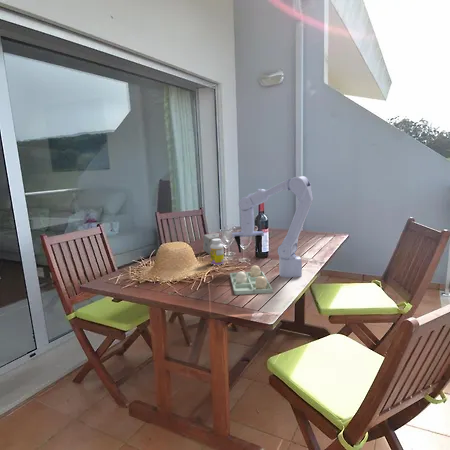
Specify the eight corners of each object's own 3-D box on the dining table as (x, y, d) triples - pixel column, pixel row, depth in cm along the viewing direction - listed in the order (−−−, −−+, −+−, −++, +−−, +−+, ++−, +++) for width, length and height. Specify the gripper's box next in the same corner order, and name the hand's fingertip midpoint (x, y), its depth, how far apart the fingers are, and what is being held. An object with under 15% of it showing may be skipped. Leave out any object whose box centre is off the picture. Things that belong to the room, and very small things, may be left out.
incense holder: (209, 255, 184) (208, 236, 182) (203, 251, 191) (202, 234, 189) (224, 252, 189) (224, 234, 187) (217, 249, 196) (217, 232, 194)
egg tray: (262, 276, 146) (262, 271, 146) (272, 294, 125) (272, 289, 125) (230, 277, 145) (229, 272, 145) (234, 296, 124) (234, 291, 124)
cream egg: (245, 281, 137) (245, 269, 136) (247, 285, 133) (247, 272, 132) (235, 282, 137) (235, 270, 136) (236, 286, 133) (236, 273, 132)
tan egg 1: (259, 275, 145) (259, 263, 144) (261, 278, 140) (261, 266, 139) (249, 276, 144) (249, 264, 143) (251, 279, 140) (251, 267, 139)
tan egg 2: (265, 287, 131) (265, 274, 130) (267, 291, 126) (267, 277, 125) (254, 287, 131) (254, 274, 130) (256, 291, 126) (256, 278, 125)
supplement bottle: (209, 263, 168) (208, 238, 166) (221, 261, 171) (220, 237, 168) (213, 266, 162) (212, 241, 160) (225, 264, 165) (224, 240, 162)
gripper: (261, 220, 154) (262, 248, 156) (230, 222, 153) (231, 250, 155) (264, 223, 147) (264, 252, 149) (232, 224, 146) (233, 254, 148)
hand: (248, 251), depth 152 cm, fingers open, 7 cm apart
